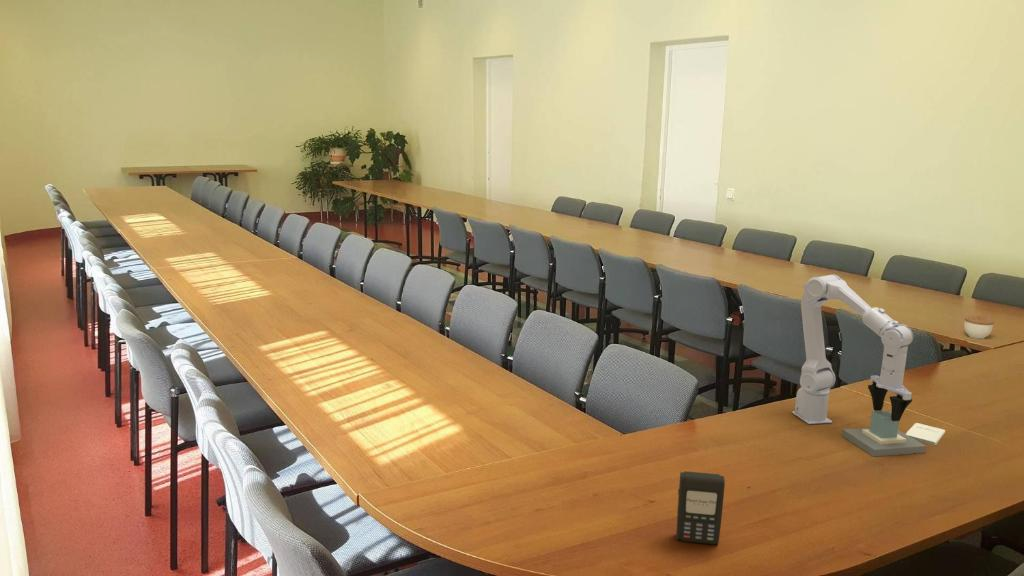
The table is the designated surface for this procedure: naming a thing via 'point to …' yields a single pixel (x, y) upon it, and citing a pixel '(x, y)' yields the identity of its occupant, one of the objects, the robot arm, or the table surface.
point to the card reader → (700, 507)
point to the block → (883, 424)
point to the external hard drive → (925, 433)
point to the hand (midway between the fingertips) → (886, 415)
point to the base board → (883, 443)
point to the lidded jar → (978, 326)
